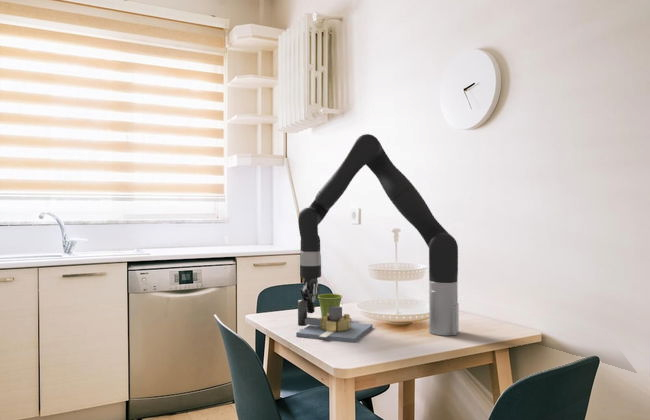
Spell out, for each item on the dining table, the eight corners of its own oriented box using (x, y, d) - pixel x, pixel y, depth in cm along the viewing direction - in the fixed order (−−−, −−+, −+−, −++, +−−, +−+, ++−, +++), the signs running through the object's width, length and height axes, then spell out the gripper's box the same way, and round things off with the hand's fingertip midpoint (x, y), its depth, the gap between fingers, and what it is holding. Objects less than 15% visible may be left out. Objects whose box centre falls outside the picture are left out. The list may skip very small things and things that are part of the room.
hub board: (372, 327, 170) (372, 304, 170) (352, 344, 149) (352, 317, 149) (319, 323, 177) (319, 300, 177) (293, 337, 157) (293, 312, 157)
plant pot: (342, 321, 180) (342, 298, 180) (317, 321, 180) (316, 298, 180) (342, 316, 189) (342, 293, 189) (317, 316, 189) (317, 293, 189)
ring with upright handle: (354, 325, 167) (353, 300, 167) (345, 332, 158) (345, 306, 158) (303, 321, 173) (303, 297, 173) (292, 327, 164) (292, 302, 164)
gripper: (312, 266, 165) (313, 317, 165) (327, 262, 177) (327, 309, 177) (292, 265, 168) (293, 315, 168) (308, 261, 180) (308, 308, 180)
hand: (310, 312), depth 173 cm, fingers closed
